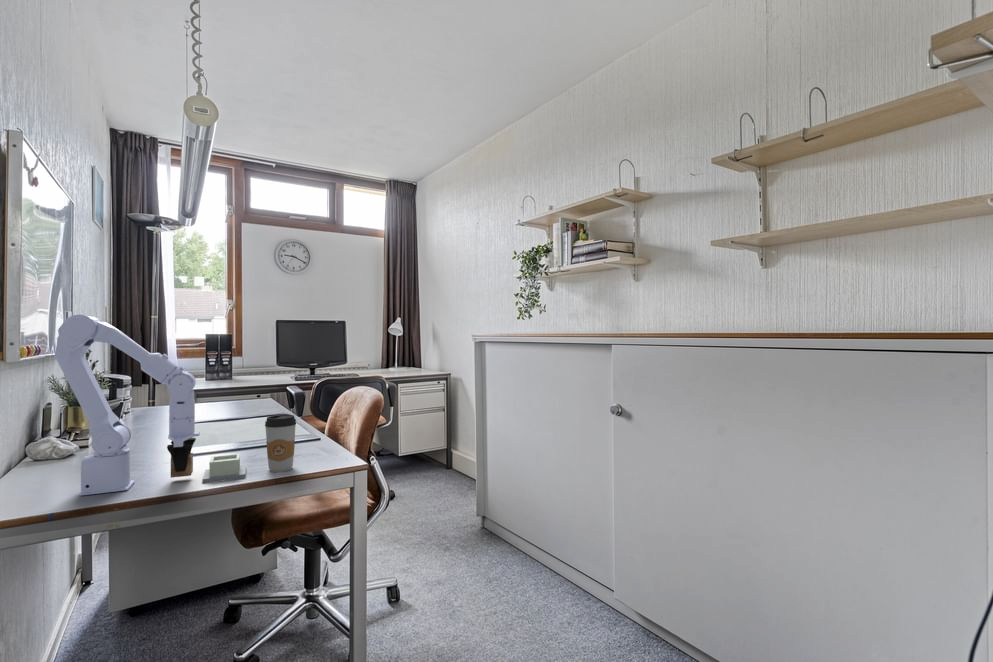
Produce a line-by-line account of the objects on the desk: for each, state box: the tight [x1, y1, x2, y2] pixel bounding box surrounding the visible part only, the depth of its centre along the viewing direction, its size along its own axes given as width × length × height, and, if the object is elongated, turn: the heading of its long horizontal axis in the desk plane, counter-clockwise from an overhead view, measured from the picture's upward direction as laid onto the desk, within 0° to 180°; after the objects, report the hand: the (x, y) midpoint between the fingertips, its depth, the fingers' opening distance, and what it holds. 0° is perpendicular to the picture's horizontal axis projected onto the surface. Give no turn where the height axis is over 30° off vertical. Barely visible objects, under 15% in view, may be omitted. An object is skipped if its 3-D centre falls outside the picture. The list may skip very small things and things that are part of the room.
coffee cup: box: [264, 414, 297, 473], centre depth 142 cm, size 8×8×15 cm
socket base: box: [201, 453, 247, 484], centre depth 136 cm, size 10×10×5 cm
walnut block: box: [170, 452, 194, 479], centre depth 131 cm, size 4×4×5 cm
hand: (181, 468), depth 131 cm, fingers closed on walnut block, 4 cm apart
